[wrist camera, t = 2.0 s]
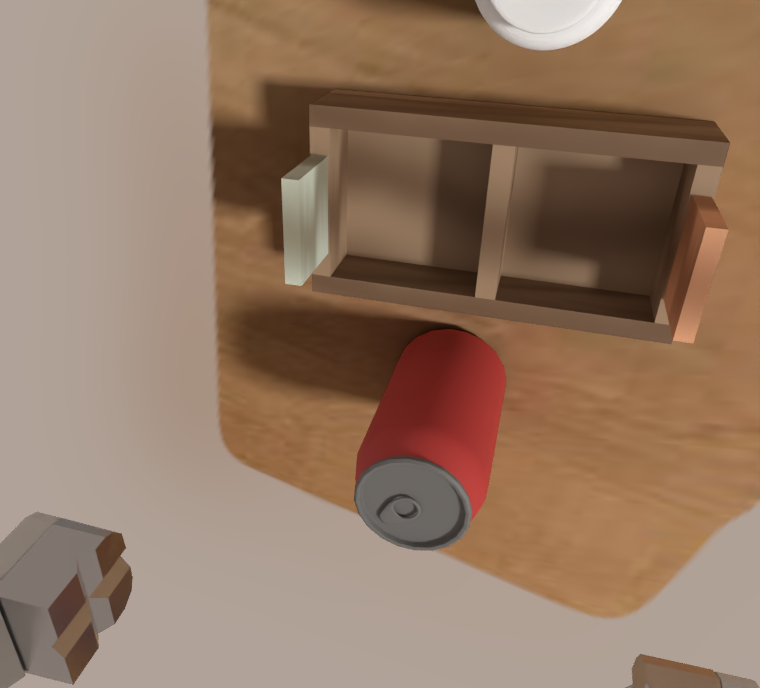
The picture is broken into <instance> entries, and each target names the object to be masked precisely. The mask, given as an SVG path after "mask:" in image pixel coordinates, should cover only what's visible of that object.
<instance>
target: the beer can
mask: <svg viewBox="0 0 760 688" xmlns="http://www.w3.org/2000/svg"><path fill="white" fill-rule="evenodd" d="M505 387H506V376H505V370H504V366H503V364H502V362H501V361H500V359H499V357H498V355H497V354H496V352H495V351H494V350H493V349H492V348H491V347H490V346H489V345H488V344H486V343H485V342H484V341H483V340H482V339H480V338H478V337H476V336H474V335H472V334H470V333H468V332H463V331H458V330H453V329H443V330H433V331H430V332H428V333H425V334H423V335H421V336H418V337H416V338H415V339H414V340H413V341H412V342H411V343H410V344H408V345H407V346H406V347H405V349H404V351H403V353H402V355H401V357H400V359H399V361H398V363H397V365H396V367H395V370H394V372H393V374H392V377H391V379H390V381H389V383H388V386H387V388H386V390H385V392H384V395H383V397H382V399H381V402H380V404H379V406H378V408H377V411H376V413H375V415H374V417H373V420H372V422H371V424H370V426H369V429H368V431H367V433H366V436H365V438H364V440H363V442H362V445H361V447H360V449H359V451H358V454H357V464H356V478H355V479H356V485H355V494H354V501H355V504H356V507H357V510H358V513H359V515H360V516H361V518H362V519H363V521H364V522H365V523H366V525H367V526H368V527H369V528H370V529H371V530H373V531H374V532H375V533H376V534H378V535H379V536H380V537H381V538H383V539H385V540H387V541H389V542H391V543H393V544H395V545H397V546H400V547H404V548H408V549H412V550H436V549H440V548H444V547H448V546H450V545H452V544H453V543H455V542H456V541H458V540H460V539H461V538H462V537H463V535H464V534H465V532H466V531H467V530H468V528H469V526H470V522H471V521H472V519H473V518H474V517H475V515H476V514H477V512H478V511H479V510H480V508H481V506H482V505H483V503H484V501H485V499H486V494H487V489H488V485H489V479H490V473H491V468H492V462H493V456H494V450H495V444H496V439H497V433H498V427H499V421H500V416H501V410H502V404H503V398H504V393H505Z"/></svg>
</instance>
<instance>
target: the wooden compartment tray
mask: <svg viewBox="0 0 760 688" xmlns="http://www.w3.org/2000/svg"><path fill="white" fill-rule="evenodd" d="M309 131H310V156H309V157H308V158H307V159H305V160H304V161H303V162H301V163H300V164H299V165H298V166H296V167H295V168H294V169H292V170H291V171H290V172H289V173H287V174H286V175H285V176H284V177H282V178H281V186H282V211H283V237H284V262H285V284H292V285H299V286H302V285H303V284H304V282H305V281H306V280H307V279H308V277H309V276H310V275H311V274H312V291H315V292H322V293H329V294H335V295H342V296H349V297H356V298H362V299H369V300H376V301H383V302H390V303H396V304H403V305H410V306H417V307H423V308H430V309H437V310H444V311H450V312H457V313H464V314H471V315H478V316H484V317H491V318H498V319H505V320H511V321H518V322H525V323H532V324H538V325H545V326H552V327H559V328H566V329H572V330H579V331H586V332H593V333H599V334H606V335H613V336H620V337H627V338H633V339H640V340H647V341H654V342H660V343H667V344H671V343H672V340H674V341H681V342H688V343H693V342H694V339H695V336H696V332H697V329H698V326H699V323H700V320H701V316H702V313H703V310H704V307H705V304H706V300H707V297H708V294H709V291H710V288H711V284H712V281H713V278H714V275H715V272H716V268H717V265H718V262H719V259H720V256H721V252H722V249H723V246H724V243H725V240H726V236H727V233H728V228H727V226H726V224H725V222H724V220H723V218H722V216H721V214H720V212H719V210H718V208H717V206H716V204H715V202H714V197H715V193H716V190H717V187H718V183H719V180H720V176H721V173H722V170H723V166H724V163H725V159H726V156H727V152H728V149H729V146H730V142H729V141H728V139H727V138H726V137H725V135H724V134H723V132H722V131H721V130H720V128H719V127H718V126H717V124H716V123H715V122H712V121H700V120H689V119H677V118H666V117H654V116H643V115H631V114H620V113H608V112H596V111H585V110H573V109H562V108H550V107H539V106H527V105H516V104H504V103H492V102H481V101H469V100H458V99H446V98H435V97H423V96H412V95H400V94H389V93H377V92H365V91H354V90H342V89H334V90H332V91H331V92H329V93H327V94H326V95H324V96H322V97H321V98H319V99H317V100H315V101H314V102H312V103H310V104H309Z"/></svg>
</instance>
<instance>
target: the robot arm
mask: <svg viewBox="0 0 760 688" xmlns="http://www.w3.org/2000/svg"><path fill="white" fill-rule="evenodd" d="M125 549H126V546H125V543H124V540H123V536H122V534H121V533H117V532H113V531H109V530H106V529H102V528H98V527H94V526H90V525H86V524H82V523H79V522H75V521H71V520H67V519H64V518H59V517H56V516H51V515H47V514H43V513H39V512H36V513H34V514H32V515H30V516H28V517H26V518H25V519H24V520H23V521H22V522H21V523H20V524H19V525H18V526H17V527H16V528H15V529H14V530H13V531H12V532H11V533H10V534H9V535H8V536H7V537H6V538H5V539H4V540H3V541H2V542H1V543H0V688H8V687H10V686H11V685H13V684H14V683H16V682H17V681H19V680H20V679H21V678H23V677H24V676H25V673H29V674H34V675H37V676H41V677H45V678H50V679H53V680H57V681H61V682H65V683H69V684H74V683H75V681H76V680H77V678H78V677H79V676H80V674H81V673H82V671H83V670H84V668H85V667H86V665H87V664H88V662H89V661H90V659H91V658H92V657H93V655H94V654H95V652H96V651H97V649H98V647H99V644H98V633H100V632H102V631H103V630H105V629H107V628H109V627H110V626H112V625H114V624H115V623H116V621H117V620H118V618H119V617H120V615H121V614H122V612H123V611H124V609H125V607H126V604H127V601H128V599H129V596H130V593H131V590H132V572H131V568H130V566H129V565H128V564H127V563H126V561H125V560H124V559H123V558H122V557H121V556H120V555H121V554H122V553H123V551H124V550H125ZM24 672H25V673H24ZM632 680H633V684H632V685H630V686H628V687H626V688H760V687H759V686H758V685H757V683H756V682H755V681H753V680H750V679H746V678H741V677H737V676H732V675H728V674H723V673H719V672H714V671H713V670H711V669H706V668H701V667H697V666H692V665H688V664H683V663H679V662H674V661H670V660H665V659H660V658H656V657H651V656H646V655H642V654H640V655H639V656H638V657H637V658H636V660H635V662H634V665H633V667H632Z"/></svg>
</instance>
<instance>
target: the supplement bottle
mask: <svg viewBox="0 0 760 688" xmlns="http://www.w3.org/2000/svg"><path fill="white" fill-rule="evenodd" d="M621 1H622V0H475V2H476V4H477V6H478V9H479V11H480V13H481V14H482V16H483V18H484V19H485V20H486V22H487V23H488V25H489V26H490V27H491V28H492V29H493V30H494V31H495V32H496V33H497V34H499V35H500V36H501V37H503V38H504V39H506V40H507V41H509V42H511V43H513V44H515V45H517V46H520V47H523V48H527V49H532V50H555V49H560V48H564V47H567V46H570V45H573V44H575V43H578V42H580V41H582V40H583V39H585V38H587V37H588V36H590V35H591V34H593V33H594V32H595V31H597V30H598V29H599V28H600V27H601V26H602V25H603V24H604V23H605V22H606V21H607V20H608V19H609V18H610V17H611V16H612V14H613V13H614V12H615V10H616V9H617V7H618V6H619V4H620V3H621Z"/></svg>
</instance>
